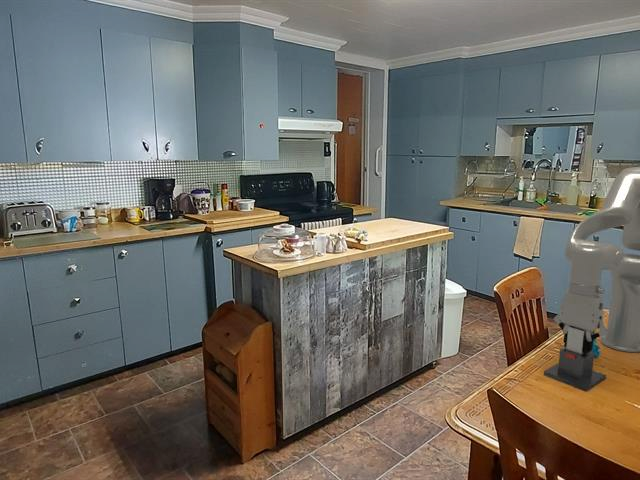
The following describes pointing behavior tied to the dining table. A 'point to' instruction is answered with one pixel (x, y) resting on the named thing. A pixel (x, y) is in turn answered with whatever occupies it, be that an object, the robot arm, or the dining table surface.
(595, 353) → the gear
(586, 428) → the dining table surface
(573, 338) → the post
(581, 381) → the stand
